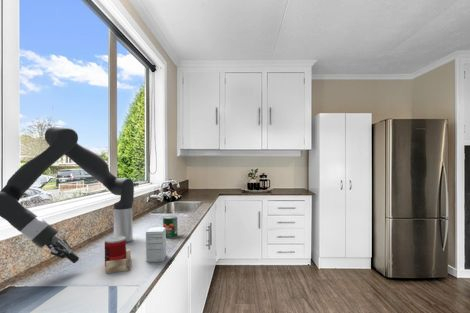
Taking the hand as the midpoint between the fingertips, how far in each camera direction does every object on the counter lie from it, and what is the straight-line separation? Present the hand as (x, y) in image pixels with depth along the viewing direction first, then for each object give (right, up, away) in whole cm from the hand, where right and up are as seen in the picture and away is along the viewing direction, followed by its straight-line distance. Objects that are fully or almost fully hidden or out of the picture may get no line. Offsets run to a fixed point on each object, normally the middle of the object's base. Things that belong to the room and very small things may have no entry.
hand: (77, 260), depth 107 cm
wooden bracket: (+14, -4, +5) cm, 15 cm away
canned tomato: (+25, -4, +47) cm, 53 cm away
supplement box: (+27, -4, +12) cm, 30 cm away
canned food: (+13, -4, +5) cm, 14 cm away
